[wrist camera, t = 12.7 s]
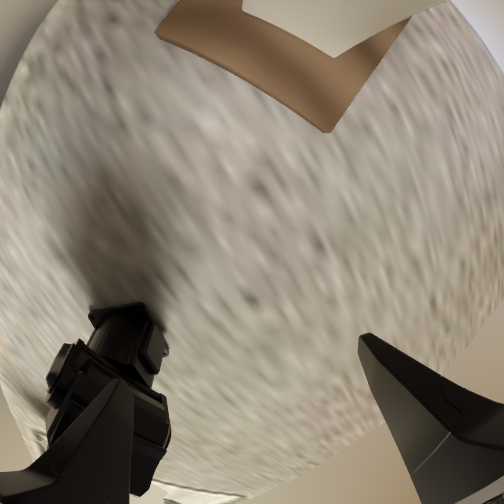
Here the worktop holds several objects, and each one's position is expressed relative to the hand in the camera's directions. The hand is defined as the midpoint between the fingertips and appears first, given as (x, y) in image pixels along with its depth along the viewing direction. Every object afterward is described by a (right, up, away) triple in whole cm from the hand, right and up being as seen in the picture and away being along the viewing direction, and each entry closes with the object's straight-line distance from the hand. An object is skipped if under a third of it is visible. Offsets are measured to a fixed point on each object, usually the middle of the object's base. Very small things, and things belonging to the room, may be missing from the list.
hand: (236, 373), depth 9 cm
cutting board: (+4, +22, +5) cm, 23 cm away
